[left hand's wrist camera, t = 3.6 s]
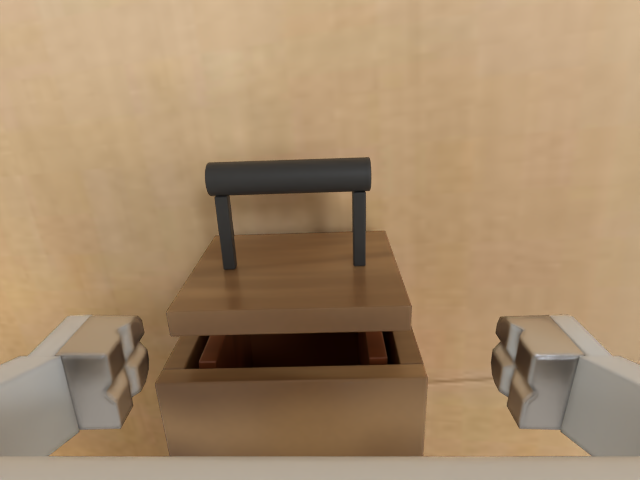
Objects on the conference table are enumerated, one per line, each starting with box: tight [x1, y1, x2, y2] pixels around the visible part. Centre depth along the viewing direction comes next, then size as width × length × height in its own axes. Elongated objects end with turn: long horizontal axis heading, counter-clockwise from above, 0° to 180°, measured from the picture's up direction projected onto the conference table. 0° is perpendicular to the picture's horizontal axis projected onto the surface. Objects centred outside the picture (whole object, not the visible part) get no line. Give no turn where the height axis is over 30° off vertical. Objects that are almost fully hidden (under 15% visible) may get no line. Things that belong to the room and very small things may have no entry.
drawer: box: [166, 157, 412, 369], centre depth 25 cm, size 25×10×9 cm, turn 2°
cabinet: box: [155, 327, 428, 456], centre depth 27 cm, size 21×11×11 cm, turn 2°
